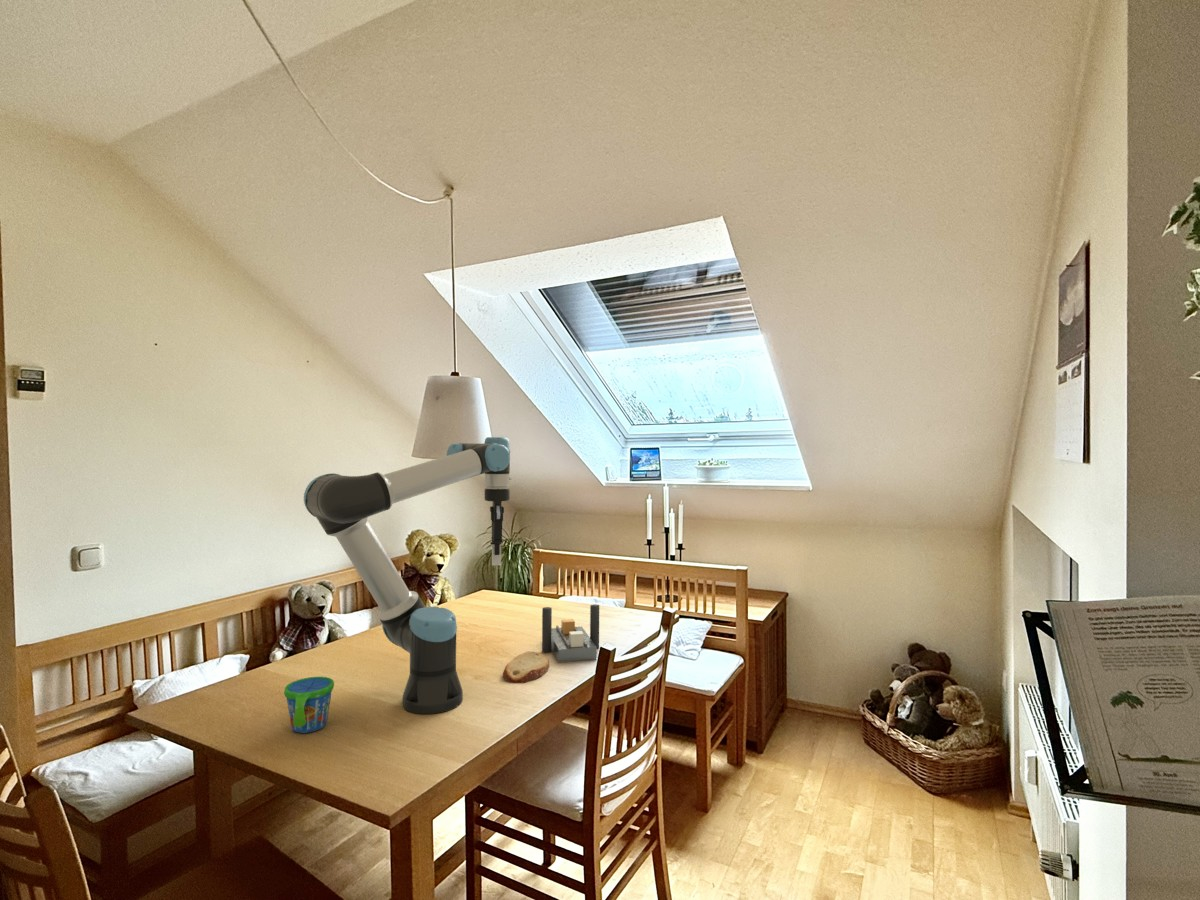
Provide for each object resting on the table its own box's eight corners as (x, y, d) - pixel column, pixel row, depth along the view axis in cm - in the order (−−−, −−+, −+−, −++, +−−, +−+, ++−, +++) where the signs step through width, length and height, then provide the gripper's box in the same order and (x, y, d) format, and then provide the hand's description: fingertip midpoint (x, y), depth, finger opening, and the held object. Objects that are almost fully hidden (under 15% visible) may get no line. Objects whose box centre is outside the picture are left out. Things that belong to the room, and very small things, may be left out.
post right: (600, 648, 201) (600, 606, 201) (591, 649, 201) (591, 607, 200) (597, 645, 204) (598, 604, 204) (589, 646, 203) (589, 604, 203)
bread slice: (537, 656, 195) (537, 644, 195) (567, 673, 180) (567, 661, 180) (485, 667, 185) (485, 655, 185) (512, 687, 170) (512, 673, 170)
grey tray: (596, 659, 191) (596, 643, 191) (558, 662, 188) (558, 646, 188) (581, 637, 213) (581, 623, 212) (547, 640, 210) (547, 625, 210)
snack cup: (300, 713, 152) (301, 672, 152) (344, 712, 152) (344, 671, 152) (270, 743, 136) (270, 698, 136) (318, 742, 137) (319, 697, 137)
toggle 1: (574, 633, 204) (574, 621, 204) (562, 634, 203) (563, 622, 203) (572, 630, 207) (573, 619, 207) (561, 631, 206) (561, 619, 206)
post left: (552, 652, 197) (552, 609, 197) (542, 653, 197) (543, 609, 196) (550, 649, 200) (550, 606, 200) (541, 650, 200) (541, 607, 199)
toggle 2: (583, 646, 191) (583, 633, 191) (570, 647, 190) (571, 634, 190) (581, 643, 194) (581, 630, 194) (569, 644, 193) (569, 631, 193)
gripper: (511, 489, 181) (511, 568, 181) (507, 486, 193) (506, 560, 194) (485, 489, 179) (485, 569, 179) (483, 486, 192) (482, 561, 192)
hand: (496, 564), depth 186 cm, fingers closed
